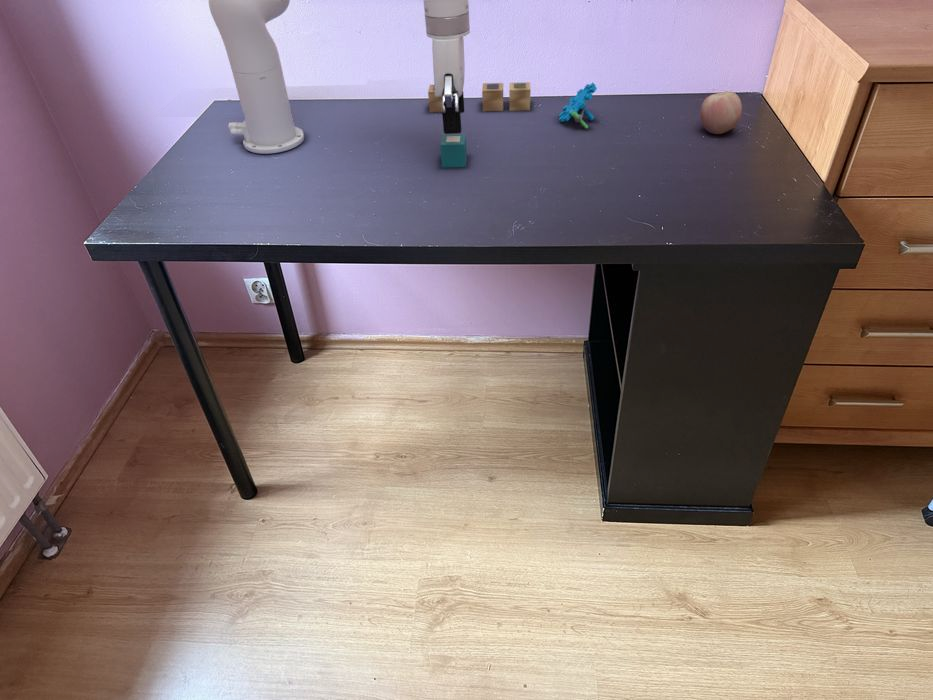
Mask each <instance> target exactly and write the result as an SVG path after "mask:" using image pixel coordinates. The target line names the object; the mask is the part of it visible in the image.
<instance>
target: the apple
mask: <svg viewBox="0 0 933 700" xmlns="http://www.w3.org/2000/svg"><path fill="white" fill-rule="evenodd" d="M742 113H743V103H742V100H741V99H740V96H739V95H738V94H737V93H736V92H734V91H731V90H727V91H722V92H717V93H713V94H710V95H708V96H707V97H706V98H705V99H704V100H703V101H702V103H701V106H700V111H699V117H700V121H701V124H702V126H703V127H704V129H705V130H706V131H707V132H708V133H710V134H713V135H721V134H725V133H727V132H729V131H731V130H732V129H734V128H735V127H736V126H737V125H738V123H739V122H740V121H741V117H742Z"/></svg>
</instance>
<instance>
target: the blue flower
mask: <svg viewBox="0 0 933 700" xmlns="http://www.w3.org/2000/svg"><path fill="white" fill-rule="evenodd" d="M597 89H598V88H597V85H596V84H595V83H594V82H591V83H590V84H589V83H587V84H586V85H585V86H584V88H580V89H579V90H577V92H576V95H575V96H572V97H571V98H569V100H568V102H569V104H565V105H564V106H563V107H562V110H561V112H560V113H559V114H558V120H559V122H561V123H564V122H569V120H570V119H571V118H574V122H575V123H579V124H580V125H581V126H582V127H583V128H584V129H585V130H587V129H588V128H589V126H588V124H587V123H586V122H585V121H584V120H583V117H584V115H585V116H586V118H587V119H588V120H589V121H591V122H592V121H593V120H594V119H595V116H594V115H593V114H592V113H591V112H590V111H589V110H588V109H587V107H586V106H587V104H586V101H590V100H591V99H592V98H593V97H594V95H593V94H594V93H595V92H596V91H597Z"/></svg>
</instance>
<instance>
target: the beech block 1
mask: <svg viewBox="0 0 933 700" xmlns="http://www.w3.org/2000/svg"><path fill="white" fill-rule="evenodd" d="M442 95H443V93H442ZM427 96H428V110H429V113H442V111H443V97H442V96H441V97H439V98H436V97H435V87H434V84H429V87H428V91H427Z"/></svg>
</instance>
